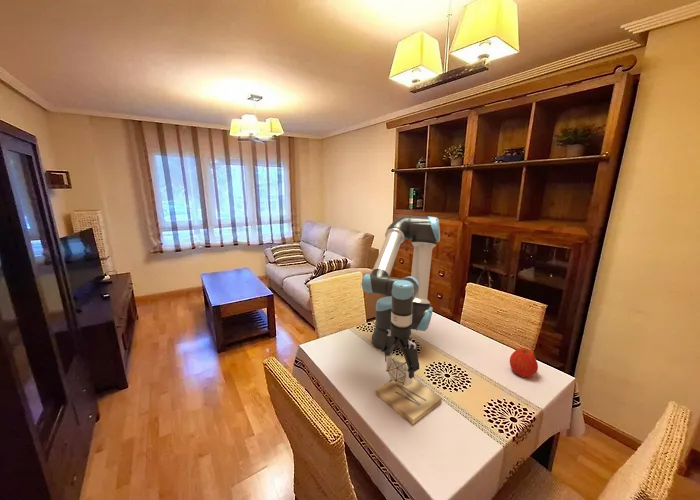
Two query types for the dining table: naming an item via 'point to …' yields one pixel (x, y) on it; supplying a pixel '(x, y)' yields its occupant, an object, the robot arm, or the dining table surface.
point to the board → (409, 399)
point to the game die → (397, 371)
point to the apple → (523, 362)
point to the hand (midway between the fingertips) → (398, 376)
